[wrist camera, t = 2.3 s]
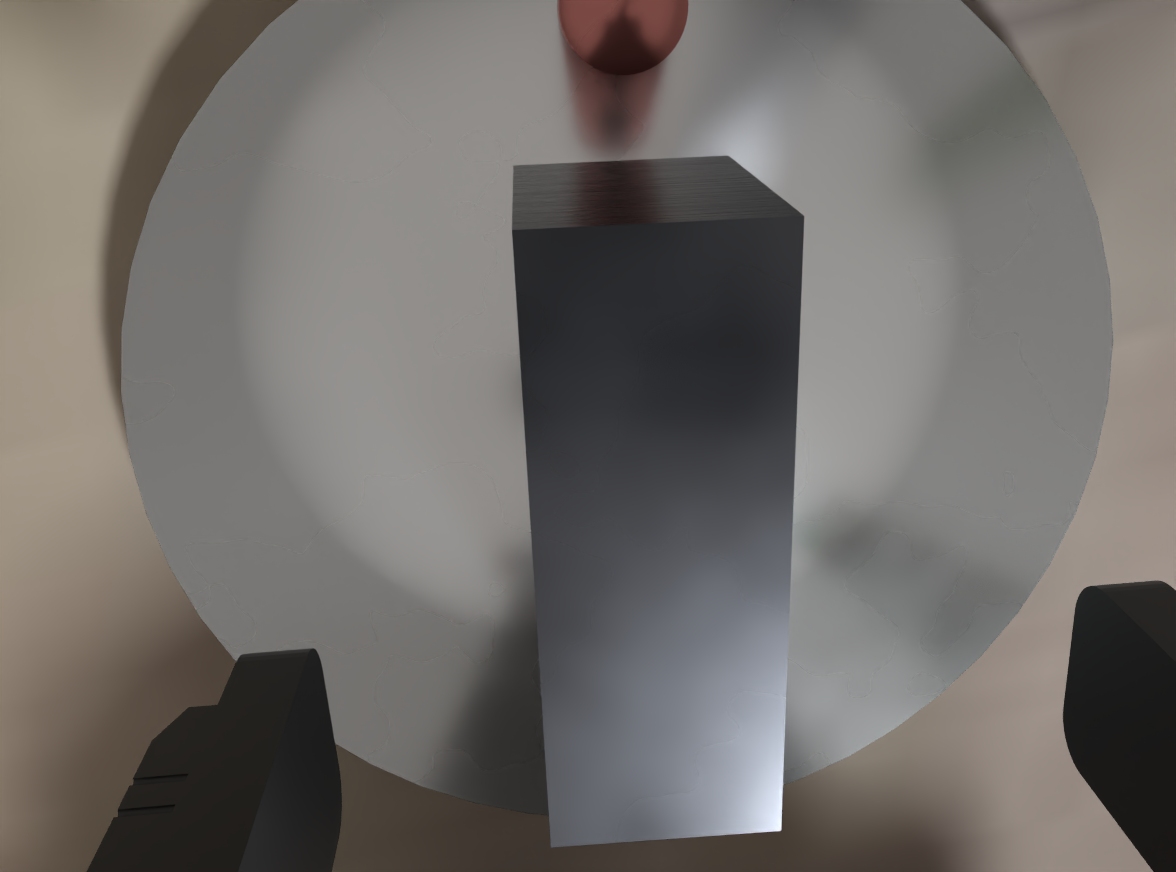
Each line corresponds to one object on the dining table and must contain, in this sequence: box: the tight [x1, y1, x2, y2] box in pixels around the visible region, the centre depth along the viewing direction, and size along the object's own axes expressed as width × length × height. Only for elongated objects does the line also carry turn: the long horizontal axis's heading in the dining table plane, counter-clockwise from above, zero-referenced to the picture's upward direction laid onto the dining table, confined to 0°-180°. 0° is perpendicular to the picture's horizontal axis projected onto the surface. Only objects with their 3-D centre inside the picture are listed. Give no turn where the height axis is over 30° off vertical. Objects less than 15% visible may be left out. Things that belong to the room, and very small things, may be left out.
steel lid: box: [121, 0, 1113, 847], centre depth 15 cm, size 15×15×6 cm
